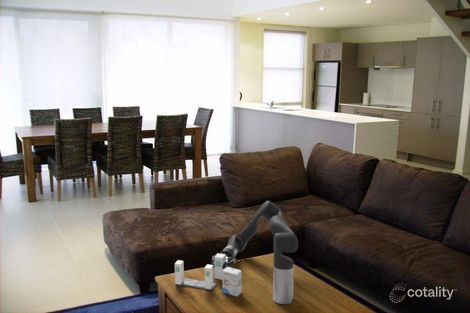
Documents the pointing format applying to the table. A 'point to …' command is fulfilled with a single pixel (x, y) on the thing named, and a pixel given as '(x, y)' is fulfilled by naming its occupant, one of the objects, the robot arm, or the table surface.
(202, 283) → the rail
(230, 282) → the ink box
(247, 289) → the table surface
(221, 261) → the white tall block
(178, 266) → the mounted modules
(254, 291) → the table surface
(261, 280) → the table surface
